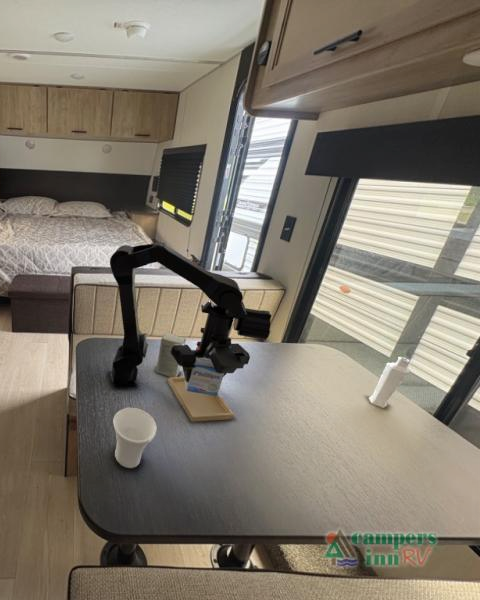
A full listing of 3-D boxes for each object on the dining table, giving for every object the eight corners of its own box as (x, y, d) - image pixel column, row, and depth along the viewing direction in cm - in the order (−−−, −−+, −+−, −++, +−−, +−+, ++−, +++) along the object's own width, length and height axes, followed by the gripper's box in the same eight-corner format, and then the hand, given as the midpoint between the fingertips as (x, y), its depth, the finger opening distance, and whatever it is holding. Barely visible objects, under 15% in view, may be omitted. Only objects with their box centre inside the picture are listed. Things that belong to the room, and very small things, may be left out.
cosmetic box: (179, 372, 93) (187, 338, 88) (175, 379, 90) (183, 345, 85) (159, 364, 96) (166, 331, 91) (154, 371, 93) (161, 337, 88)
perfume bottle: (388, 402, 86) (415, 359, 79) (388, 410, 83) (417, 366, 76) (367, 394, 88) (392, 351, 82) (366, 401, 85) (392, 358, 79)
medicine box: (186, 391, 80) (193, 364, 76) (184, 380, 84) (190, 354, 80) (217, 396, 79) (226, 370, 75) (214, 385, 83) (222, 359, 79)
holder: (191, 421, 75) (192, 416, 75) (167, 381, 89) (168, 377, 88) (232, 419, 77) (234, 414, 76) (203, 379, 90) (204, 375, 90)
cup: (122, 483, 60) (128, 448, 55) (101, 446, 67) (105, 412, 63) (159, 468, 63) (167, 434, 59) (134, 434, 71) (140, 401, 67)
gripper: (196, 349, 65) (182, 404, 72) (274, 347, 68) (253, 400, 74) (175, 324, 75) (164, 374, 82) (243, 323, 78) (228, 372, 84)
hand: (202, 380), depth 80 cm, fingers closed on medicine box, 9 cm apart
